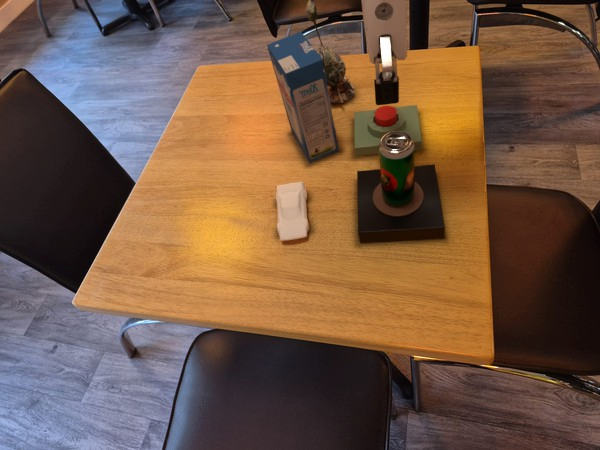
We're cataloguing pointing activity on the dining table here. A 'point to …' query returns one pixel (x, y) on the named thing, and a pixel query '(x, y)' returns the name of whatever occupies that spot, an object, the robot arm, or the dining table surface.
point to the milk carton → (304, 95)
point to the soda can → (397, 167)
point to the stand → (399, 209)
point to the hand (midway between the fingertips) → (384, 81)
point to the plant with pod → (332, 66)
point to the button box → (384, 129)
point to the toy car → (292, 211)
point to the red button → (385, 116)
